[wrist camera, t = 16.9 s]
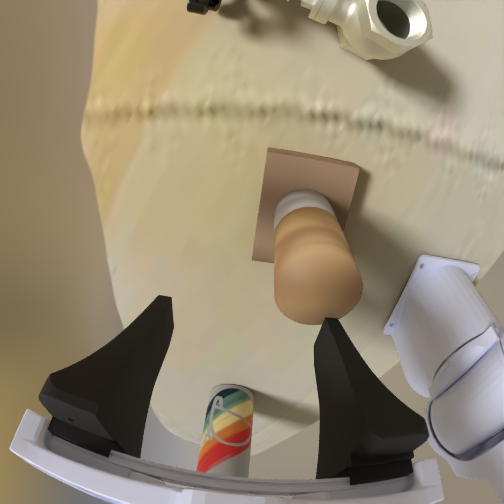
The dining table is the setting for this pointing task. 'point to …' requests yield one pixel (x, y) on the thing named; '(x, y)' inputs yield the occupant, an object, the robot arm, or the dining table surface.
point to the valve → (363, 23)
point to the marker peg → (312, 260)
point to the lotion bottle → (227, 432)
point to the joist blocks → (300, 177)
